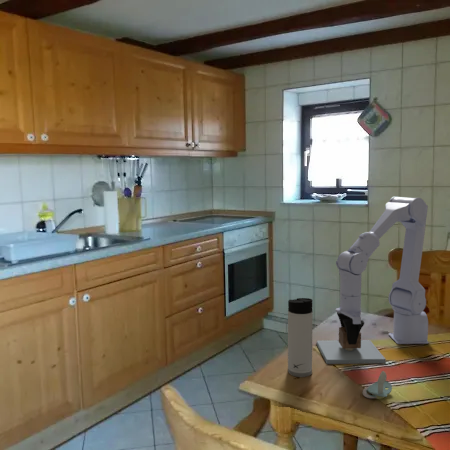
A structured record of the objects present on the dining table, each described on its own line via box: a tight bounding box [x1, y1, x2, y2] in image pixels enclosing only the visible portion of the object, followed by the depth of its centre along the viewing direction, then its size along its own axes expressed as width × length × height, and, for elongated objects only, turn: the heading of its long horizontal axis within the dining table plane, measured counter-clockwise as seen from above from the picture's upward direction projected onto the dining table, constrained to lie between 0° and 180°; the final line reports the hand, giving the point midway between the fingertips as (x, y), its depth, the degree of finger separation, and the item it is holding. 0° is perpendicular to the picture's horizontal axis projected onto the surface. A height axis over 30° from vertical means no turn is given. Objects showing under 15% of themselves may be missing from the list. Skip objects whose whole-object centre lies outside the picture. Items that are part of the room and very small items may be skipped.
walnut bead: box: [338, 326, 362, 349], centre depth 132 cm, size 5×5×4 cm
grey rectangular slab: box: [316, 339, 387, 365], centre depth 133 cm, size 16×14×5 cm
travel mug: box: [287, 297, 314, 378], centre depth 120 cm, size 6×7×20 cm
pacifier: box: [362, 370, 393, 400], centre depth 109 cm, size 7×6×6 cm
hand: (349, 340), depth 133 cm, fingers closed on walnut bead, 5 cm apart
